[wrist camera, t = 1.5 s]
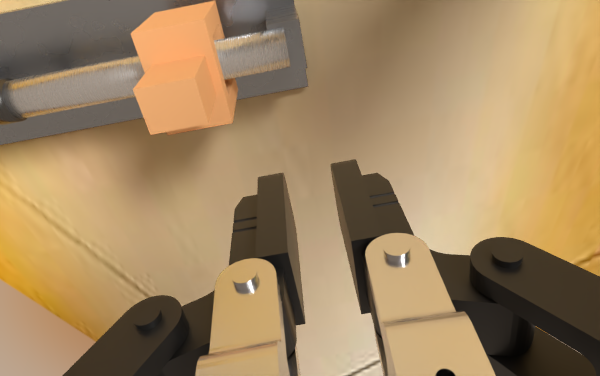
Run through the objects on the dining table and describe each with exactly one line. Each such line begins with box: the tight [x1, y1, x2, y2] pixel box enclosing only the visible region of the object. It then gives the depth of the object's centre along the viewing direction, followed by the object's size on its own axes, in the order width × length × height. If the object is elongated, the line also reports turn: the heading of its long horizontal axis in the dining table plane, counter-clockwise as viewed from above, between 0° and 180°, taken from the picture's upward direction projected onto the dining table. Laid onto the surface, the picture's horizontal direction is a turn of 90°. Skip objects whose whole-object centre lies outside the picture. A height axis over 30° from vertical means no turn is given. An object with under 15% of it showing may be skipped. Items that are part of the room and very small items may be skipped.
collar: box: [131, 1, 238, 135], centre depth 26 cm, size 4×6×10 cm, turn 10°
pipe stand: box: [0, 0, 308, 145], centre depth 30 cm, size 26×9×7 cm, turn 100°
